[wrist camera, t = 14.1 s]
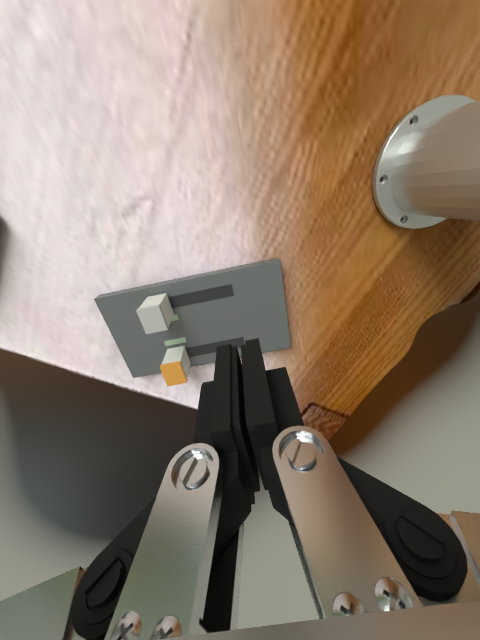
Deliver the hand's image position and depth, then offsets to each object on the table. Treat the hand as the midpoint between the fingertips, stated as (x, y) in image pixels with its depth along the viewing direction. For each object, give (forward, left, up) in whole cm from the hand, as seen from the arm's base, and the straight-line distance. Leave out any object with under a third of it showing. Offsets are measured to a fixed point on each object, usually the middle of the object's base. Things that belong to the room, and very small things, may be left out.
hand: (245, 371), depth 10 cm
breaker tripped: (+10, +12, -22) cm, 27 cm away
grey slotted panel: (+6, +8, -24) cm, 26 cm away
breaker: (+10, +4, -22) cm, 25 cm away
